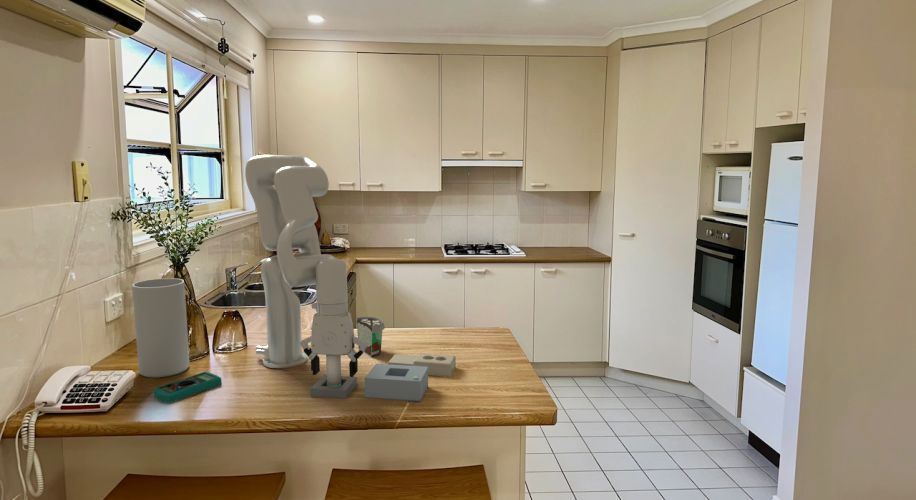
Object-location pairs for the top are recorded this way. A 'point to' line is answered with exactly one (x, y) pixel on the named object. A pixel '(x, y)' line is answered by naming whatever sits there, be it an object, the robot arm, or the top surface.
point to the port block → (397, 382)
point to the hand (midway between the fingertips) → (334, 374)
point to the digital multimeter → (186, 387)
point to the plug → (333, 370)
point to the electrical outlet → (428, 362)
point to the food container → (370, 334)
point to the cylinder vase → (161, 327)
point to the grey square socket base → (333, 388)
